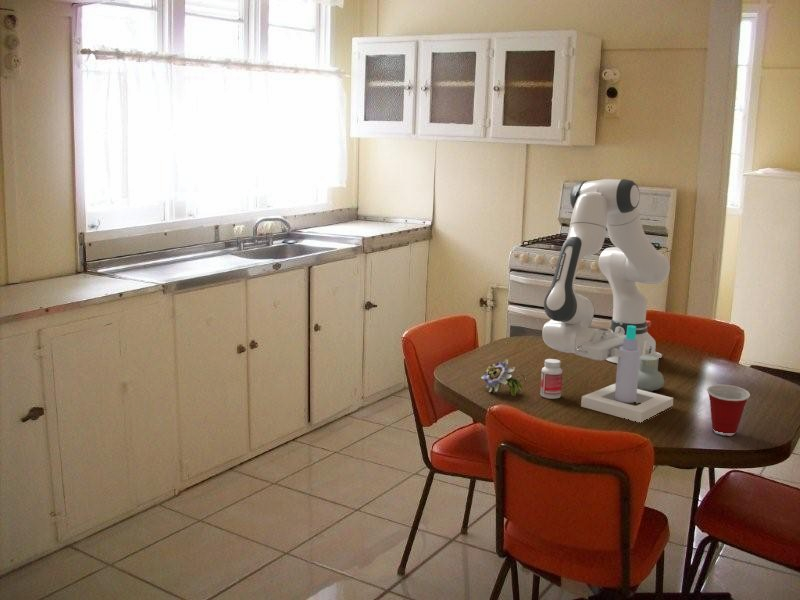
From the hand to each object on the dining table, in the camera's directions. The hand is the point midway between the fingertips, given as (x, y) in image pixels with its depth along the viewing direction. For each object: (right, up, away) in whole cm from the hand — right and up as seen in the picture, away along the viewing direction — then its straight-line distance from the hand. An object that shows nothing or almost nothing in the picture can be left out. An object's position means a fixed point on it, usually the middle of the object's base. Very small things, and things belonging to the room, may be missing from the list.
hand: (633, 352), depth 250 cm
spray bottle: (-2, -14, +3) cm, 15 cm away
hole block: (-1, -16, +4) cm, 17 cm away
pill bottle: (-22, -14, +12) cm, 29 cm away
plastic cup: (+20, -21, -15) cm, 33 cm away
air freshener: (+10, -13, +22) cm, 28 cm away
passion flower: (-36, -13, +16) cm, 41 cm away
